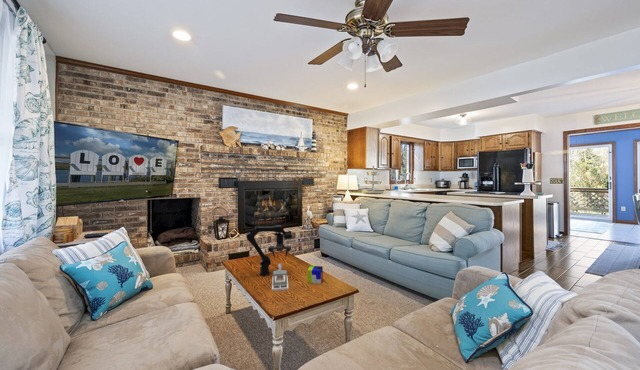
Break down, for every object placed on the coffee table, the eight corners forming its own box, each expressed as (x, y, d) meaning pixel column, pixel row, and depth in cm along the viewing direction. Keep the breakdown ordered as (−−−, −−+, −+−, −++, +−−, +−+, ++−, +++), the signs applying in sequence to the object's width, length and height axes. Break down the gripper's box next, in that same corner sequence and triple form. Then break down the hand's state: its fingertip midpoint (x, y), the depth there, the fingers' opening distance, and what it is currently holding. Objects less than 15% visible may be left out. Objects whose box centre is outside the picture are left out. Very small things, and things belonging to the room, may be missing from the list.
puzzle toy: (320, 283, 205) (320, 271, 204) (307, 282, 207) (307, 270, 206) (322, 278, 214) (322, 266, 214) (310, 277, 216) (310, 265, 216)
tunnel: (286, 284, 200) (286, 273, 200) (273, 285, 198) (273, 274, 198) (286, 280, 207) (286, 270, 206) (273, 281, 205) (273, 270, 205)
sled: (283, 279, 208) (283, 269, 208) (276, 280, 208) (275, 270, 207) (283, 272, 224) (283, 263, 223) (276, 272, 223) (276, 263, 222)
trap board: (288, 289, 195) (288, 287, 195) (271, 290, 193) (271, 288, 193) (287, 276, 218) (287, 275, 218) (272, 278, 217) (272, 276, 216)
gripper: (267, 243, 219) (268, 261, 220) (290, 242, 221) (291, 260, 222) (269, 239, 230) (269, 257, 231) (290, 238, 232) (291, 256, 233)
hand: (280, 258), depth 229 cm, fingers open, 9 cm apart
